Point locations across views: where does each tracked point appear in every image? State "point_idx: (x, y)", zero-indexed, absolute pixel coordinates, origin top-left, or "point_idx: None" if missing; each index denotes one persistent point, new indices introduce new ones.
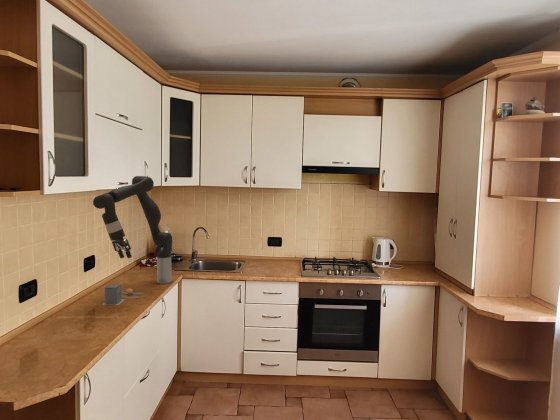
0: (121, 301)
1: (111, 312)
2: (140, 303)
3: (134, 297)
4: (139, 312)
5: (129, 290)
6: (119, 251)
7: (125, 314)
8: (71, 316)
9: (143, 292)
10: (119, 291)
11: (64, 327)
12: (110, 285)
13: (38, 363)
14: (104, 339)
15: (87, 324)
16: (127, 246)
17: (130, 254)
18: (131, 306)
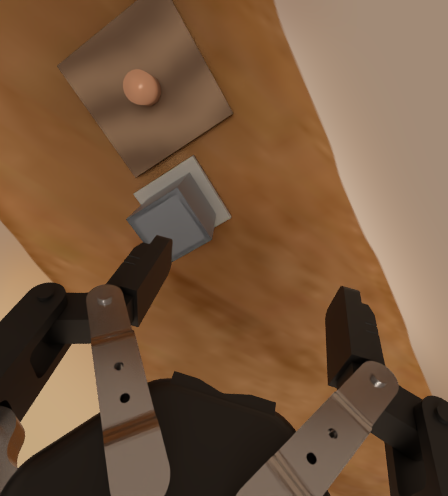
0: (203, 183)
1: (255, 263)
2: (275, 134)
3: (206, 109)
4: (352, 213)
5: (152, 98)
6: (131, 320)
7: (317, 251)
8: (175, 340)
9: (175, 13)
10: (194, 200)
11: (239, 387)
12: (146, 228)
13: (359, 480)
14: (402, 384)
15: (276, 352)
16: (369, 430)
17: (374, 329)
18: (270, 183)
